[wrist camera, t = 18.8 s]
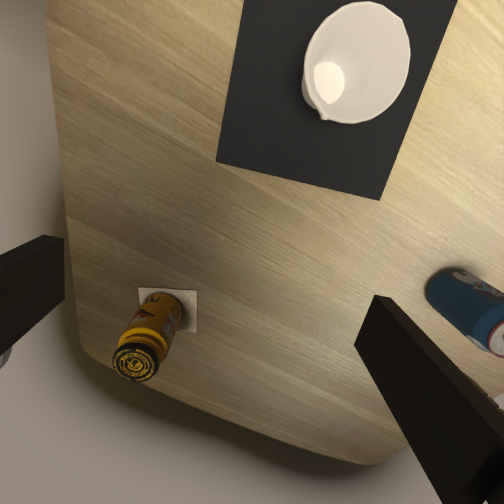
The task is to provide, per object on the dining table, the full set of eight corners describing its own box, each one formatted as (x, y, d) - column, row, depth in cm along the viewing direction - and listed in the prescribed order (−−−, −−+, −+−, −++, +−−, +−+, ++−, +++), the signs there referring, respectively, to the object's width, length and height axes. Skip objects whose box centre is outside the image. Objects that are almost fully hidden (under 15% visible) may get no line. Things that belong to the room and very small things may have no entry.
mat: (215, 161, 36) (215, 161, 36) (256, -65, 29) (256, -67, 28) (378, 200, 38) (379, 200, 38) (456, -1, 31) (458, -2, 30)
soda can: (432, 314, 45) (494, 372, 34) (415, 281, 43) (475, 331, 32) (475, 292, 44) (554, 345, 33) (461, 257, 42) (540, 300, 30)
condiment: (138, 287, 42) (100, 339, 31) (196, 290, 43) (179, 343, 31) (142, 328, 45) (107, 390, 34) (196, 330, 45) (180, 393, 34)
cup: (271, 99, 34) (281, 83, 24) (323, 20, 31) (357, -32, 22) (328, 146, 36) (358, 148, 26) (382, 75, 33) (436, 50, 24)
